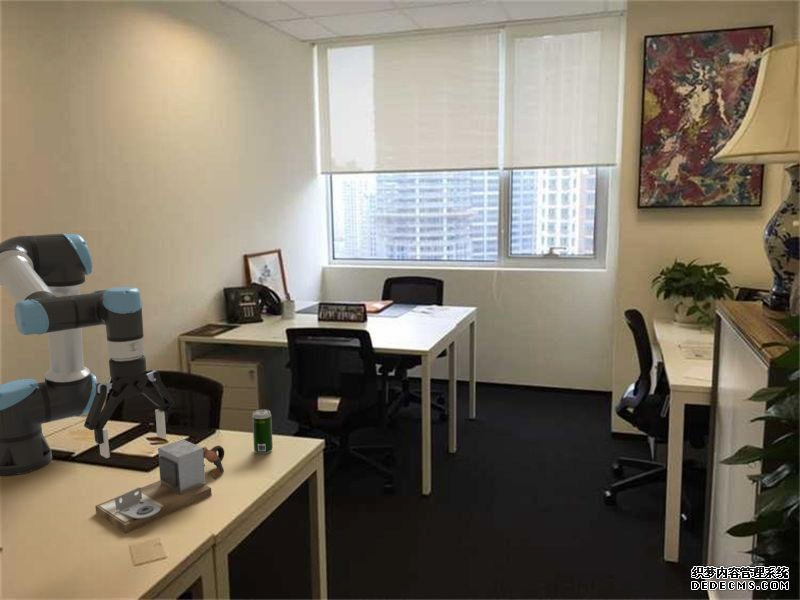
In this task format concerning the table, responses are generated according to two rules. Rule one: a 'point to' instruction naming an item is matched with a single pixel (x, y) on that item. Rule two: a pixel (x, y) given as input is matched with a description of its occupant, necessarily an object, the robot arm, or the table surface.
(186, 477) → the grey box
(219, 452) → the pottery mug
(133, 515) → the bracket
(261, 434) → the beer can
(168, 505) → the brown wooden flat board
